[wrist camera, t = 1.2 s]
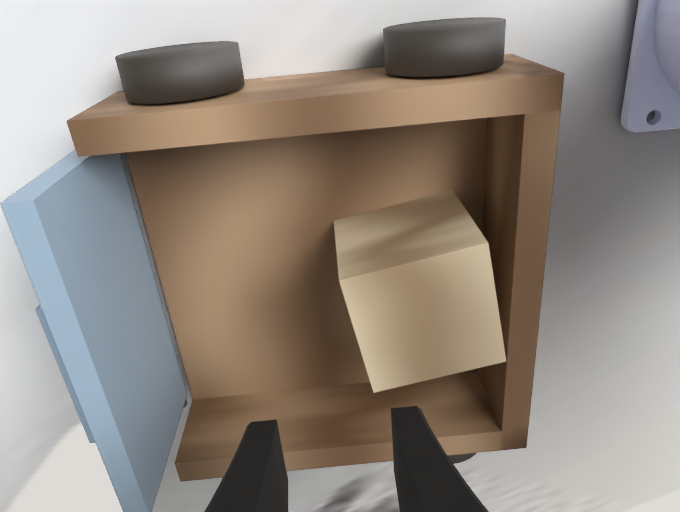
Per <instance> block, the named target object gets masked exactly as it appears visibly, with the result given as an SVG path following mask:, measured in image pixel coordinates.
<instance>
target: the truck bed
mask: <svg viewBox="0 0 680 512" xmlns="http://www.w3.org/2000/svg"><path fill="white" fill-rule="evenodd" d="M505 24H506V20H505V19H502V18H457V19H442V20H431V21H421V22H413V23H406V24H399V25H394V26H390V27H386V28H384V29H383V37H384V59H385V66H383V67H372V68H362V69H351V70H341V71H330V72H320V73H309V74H299V75H289V76H278V77H268V78H257V79H247V80H244V76H243V70H242V64H241V58H240V51H239V45H238V43H237V42H230V41H221V42H202V43H190V44H181V45H172V46H164V47H157V48H150V49H144V50H139V51H133V52H129V53H125V54H121V55H118V56H116V57H115V59H116V62H117V66H118V70H119V74H120V78H121V82H122V85H123V89H124V91H122V92H117V93H115V94H113V95H111V96H110V97H108V98H106V99H104V100H103V101H101V102H99V103H97V104H96V105H94V106H92V107H90V108H89V109H87V110H85V111H83V112H82V113H80V114H78V115H76V116H74V117H73V118H71V119H69V120H67V124H68V127H69V130H70V133H71V137H72V140H73V143H74V146H75V149H76V152H77V156H78V157H83V156H93V155H104V154H114V153H124V152H125V153H126V157H127V160H128V164H129V168H130V171H131V175H132V179H133V182H134V186H135V190H136V193H137V197H138V201H139V204H140V208H141V211H142V215H143V219H144V222H145V226H146V230H147V233H148V237H149V241H150V244H151V248H152V252H153V255H154V259H155V263H156V266H157V270H158V274H159V277H160V281H161V284H162V288H163V292H164V295H165V299H166V303H167V306H168V310H169V314H170V317H171V321H172V325H173V328H174V332H175V336H176V339H177V343H178V347H179V350H180V354H181V358H182V361H183V365H184V368H185V372H186V376H187V379H188V383H189V387H190V390H191V394H192V398H193V401H192V405H191V408H190V412H189V415H188V419H187V422H186V426H185V429H184V433H183V436H182V440H181V443H180V447H179V450H178V454H177V457H176V461H175V465H176V468H177V472H178V475H179V478H180V481H190V480H201V479H211V478H221V477H224V475H225V474H226V472H227V470H228V467H229V465H230V463H231V461H232V459H233V457H234V455H235V453H236V451H237V449H238V446H239V444H240V442H241V439H242V437H243V435H244V432H245V430H246V427H247V425H248V424H249V423H250V422H255V421H265V420H275V419H277V423H278V429H279V434H280V440H281V445H282V450H283V456H284V461H285V467H286V472H287V471H293V470H303V469H313V468H324V467H334V466H344V465H354V464H365V463H375V462H385V461H394V460H393V441H392V423H391V408H399V407H409V406H418V407H419V408H420V409H421V410H422V412H423V414H424V416H425V418H426V420H427V422H428V424H429V426H430V428H431V430H432V431H433V433H434V435H435V437H436V438H437V440H438V441H439V443H440V445H441V446H442V448H443V450H444V451H445V453H446V454H447V456H448V457H449V459H450V460H451V462H452V463H453V464H454V463H459V462H463V461H465V460H468V459H469V458H471V457H473V456H474V455H475V454H476V453H477V452H488V451H498V450H508V449H518V448H526V445H527V435H528V425H529V415H530V406H531V396H532V386H533V376H534V366H535V357H536V347H537V337H538V327H539V317H540V307H541V298H542V288H543V278H544V268H545V258H546V248H547V239H548V229H549V219H550V209H551V199H552V190H553V180H554V170H555V160H556V150H557V140H558V131H559V121H560V111H561V101H562V91H563V81H564V73H562V72H559V71H557V70H554V69H551V68H549V67H546V66H543V65H540V64H538V63H535V62H532V61H529V60H527V59H524V58H521V57H518V56H516V55H513V54H508V55H504V43H505ZM449 190H453V191H454V193H455V194H456V196H457V197H458V199H459V200H460V201H461V203H462V204H463V206H464V207H465V209H466V210H467V212H468V213H469V215H470V216H471V218H472V219H473V221H474V222H475V224H476V225H477V227H478V228H479V230H480V231H481V233H482V234H483V236H484V237H485V239H486V240H487V242H488V244H489V250H490V257H491V264H492V270H493V277H494V283H495V290H496V296H497V303H498V310H499V316H500V323H501V329H502V336H503V342H504V349H505V356H506V362H502V363H498V364H494V365H489V366H485V367H481V368H477V369H472V370H468V371H464V372H460V373H455V374H451V375H447V376H443V377H438V378H434V379H430V380H426V381H421V382H417V383H413V384H409V385H405V386H400V387H396V388H392V389H388V390H383V391H379V392H375V393H373V390H372V386H371V383H370V380H369V377H368V373H367V370H366V367H365V364H364V360H363V357H362V354H361V351H360V347H359V344H358V341H357V338H356V334H355V331H354V328H353V325H352V321H351V318H350V315H349V312H348V308H347V305H346V302H345V299H344V295H343V292H342V289H341V286H340V282H339V275H338V264H337V253H336V242H335V230H334V221H335V220H338V219H342V218H346V217H350V216H354V215H357V214H361V213H365V212H369V211H373V210H376V209H380V208H384V207H388V206H392V205H396V204H399V203H403V202H407V201H411V200H415V199H418V198H422V197H426V196H430V195H434V194H437V193H441V192H445V191H449Z"/></svg>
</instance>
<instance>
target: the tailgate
mask: <svg viewBox="0 0 680 512" xmlns="http://www.w3.org/2000/svg"><path fill="white" fill-rule="evenodd" d="M0 206H1V208H2V210H3V213H4V215H5V218H6V220H7V223H8V225H9V228H10V230H11V233H12V235H13V238H14V240H15V243H16V245H17V248H18V250H19V253H20V255H21V258H22V260H23V263H24V265H25V268H26V270H27V273H28V275H29V278H30V280H31V283H32V285H33V288H34V290H35V293H36V295H37V298H38V300H39V303H40V305H39V306H38V307H37V308H36V312H37V314H38V317H39V319H40V322H41V324H42V327H43V329H44V331H45V334H46V336H47V339H48V341H49V344H50V346H51V349H52V351H53V353H54V356H55V358H56V361H57V363H58V366H59V368H60V371H61V373H62V376H63V378H64V380H65V383H66V385H67V388H68V390H69V393H70V395H71V398H72V400H73V402H74V405H75V407H76V410H77V412H78V415H79V417H80V420H81V422H82V425H83V427H84V429H85V432H86V434H87V437H88V439H89V442H90V443H94V442H96V445H97V447H98V450H99V452H100V454H101V457H102V460H103V462H104V464H105V467H106V470H107V472H108V475H109V477H110V480H111V482H112V485H113V487H114V490H115V492H116V494H117V497H118V500H119V502H120V504H121V507H122V509H123V512H152V508H153V505H154V502H155V499H156V495H157V492H158V489H159V485H160V482H161V479H162V475H163V472H164V469H165V466H166V462H167V459H168V456H169V452H170V449H171V446H172V442H173V439H174V436H175V433H176V429H177V426H178V423H179V419H180V416H181V413H182V409H183V408H184V407H185V406H186V405H187V399H186V396H187V393H186V389H185V386H184V382H183V379H182V375H181V371H180V368H179V364H178V361H177V357H176V354H175V350H174V346H173V343H172V339H171V336H170V332H169V328H168V325H167V321H166V318H165V314H164V311H163V307H162V303H161V300H160V296H159V293H158V289H157V285H156V282H155V278H154V275H153V271H152V268H151V264H150V260H149V257H148V253H147V250H146V246H145V242H144V239H143V235H142V232H141V228H140V225H139V221H138V217H137V214H136V210H135V207H134V203H133V199H132V196H131V192H130V189H129V185H128V182H127V178H126V174H125V171H124V167H123V164H122V160H121V156H120V153H114V154H104V155H93V156H83V157H78V156H77V152H76V150H74V151H73V152H71V153H70V154H69V155H67V156H66V157H64V158H63V159H62V160H60V161H59V162H57V163H56V164H54V165H53V166H52V167H50V168H49V169H47V170H46V171H45V172H43V173H42V174H40V175H39V176H38V177H36V178H35V179H33V180H32V181H31V182H29V183H28V184H26V185H25V186H24V187H22V188H21V189H19V190H18V191H16V192H15V193H14V194H12V195H11V196H9V197H8V198H7V199H5V200H4V201H2V202H1V203H0Z"/></svg>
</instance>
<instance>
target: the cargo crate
mask: <svg viewBox="0 0 680 512" xmlns="http://www.w3.org/2000/svg"><path fill="white" fill-rule="evenodd" d="M334 230H335V242H336V253H337V264H338V275H339V282H340V286H341V289H342V292H343V295H344V299H345V302H346V305H347V308H348V312H349V315H350V318H351V321H352V325H353V328H354V331H355V334H356V338H357V341H358V344H359V347H360V351H361V354H362V357H363V360H364V364H365V367H366V370H367V373H368V377H369V380H370V383H371V386H372V390H373V393H375V392H379V391H383V390H388V389H392V388H396V387H400V386H405V385H409V384H413V383H417V382H421V381H426V380H430V379H434V378H438V377H443V376H447V375H451V374H455V373H460V372H464V371H468V370H472V369H477V368H481V367H485V366H489V365H494V364H498V363H502V362H506V356H505V349H504V342H503V336H502V329H501V323H500V316H499V310H498V303H497V296H496V290H495V283H494V277H493V270H492V264H491V257H490V250H489V244H488V242H487V240H486V239H485V237H484V236H483V234H482V233H481V231H480V230H479V228H478V227H477V225H476V224H475V222H474V221H473V219H472V218H471V216H470V215H469V213H468V212H467V210H466V209H465V207H464V206H463V204H462V203H461V201H460V200H459V199H458V197H457V196H456V194H455V193H454V191H453V190H449V191H445V192H441V193H437V194H434V195H430V196H426V197H422V198H418V199H415V200H411V201H407V202H403V203H399V204H396V205H392V206H388V207H384V208H380V209H376V210H373V211H369V212H365V213H361V214H357V215H354V216H350V217H346V218H342V219H338V220H335V221H334Z"/></svg>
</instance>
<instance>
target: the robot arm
mask: <svg viewBox="0 0 680 512" xmlns="http://www.w3.org/2000/svg"><path fill="white" fill-rule="evenodd" d="M653 110H655V116H654V118H653V119H652V120H651V121H649V122H647V120H646V118H647V116H648V114H649V113H650V112H651V111H653ZM621 124H622V126H623V128H625V129H627V130H628V131H630V132H636V133H638V132H648V131H658V130H669V129H679V128H680V0H639V2H638V9H637V15H636V22H635V28H634V35H633V41H632V48H631V54H630V61H629V68H628V74H627V81H626V87H625V94H624V100H623V107H622V113H621ZM391 423H392V441H393V460H394V473H395V480H396V487H397V494H398V501H399V507H400V512H488V510H487V509H486V508H485V507H484V505H483V504H482V503H481V502H480V500H479V499H478V498H477V496H476V495H475V494H474V493H473V491H472V490H471V489H470V487H469V486H468V485H467V483H466V482H465V480H464V479H463V478H462V476H461V475H460V473H459V472H458V470H457V469H456V468H455V466H454V465H453V463H452V462H451V460H450V459H449V457H448V456H447V454H446V453H445V451H444V450H443V448H442V446H441V445H440V443H439V441H438V440H437V438H436V437H435V435H434V433H433V431H432V430H431V428H430V426H429V424H428V422H427V420H426V418H425V416H424V414H423V412H422V410H421V409H420V408H419V407H418V406H409V407H399V408H391ZM205 512H288V478H287V472H286V467H285V461H284V456H283V450H282V445H281V440H280V434H279V429H278V423H277V419H275V420H265V421H255V422H250V423H249V424H248V425H247V427H246V430H245V432H244V435H243V437H242V439H241V442H240V444H239V446H238V449H237V451H236V453H235V455H234V457H233V459H232V461H231V463H230V465H229V467H228V470H227V472H226V474H225V475H224V477H223V479H222V481H221V483H220V485H219V487H218V489H217V490H216V492H215V494H214V496H213V498H212V500H211V502H210V503H209V505H208V507H207V509H206V510H205Z"/></svg>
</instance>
